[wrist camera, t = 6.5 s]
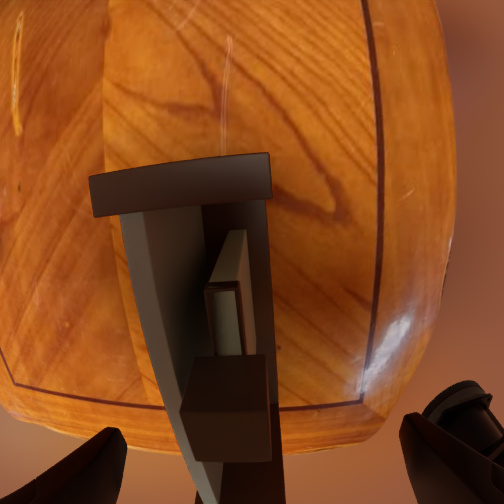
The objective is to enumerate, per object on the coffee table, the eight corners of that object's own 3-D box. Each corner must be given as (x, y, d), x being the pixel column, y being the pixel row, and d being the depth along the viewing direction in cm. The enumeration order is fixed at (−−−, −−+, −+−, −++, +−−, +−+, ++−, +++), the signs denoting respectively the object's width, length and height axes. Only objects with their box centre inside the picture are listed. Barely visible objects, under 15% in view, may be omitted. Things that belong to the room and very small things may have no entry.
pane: (258, 227, 18) (262, 333, 7) (267, 339, 20) (274, 495, 9) (215, 231, 18) (157, 338, 7) (229, 341, 20) (208, 496, 9)
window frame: (261, 158, 18) (269, 151, 8) (278, 401, 23) (286, 520, 13) (178, 166, 18) (87, 176, 8) (215, 404, 23) (197, 520, 13)
